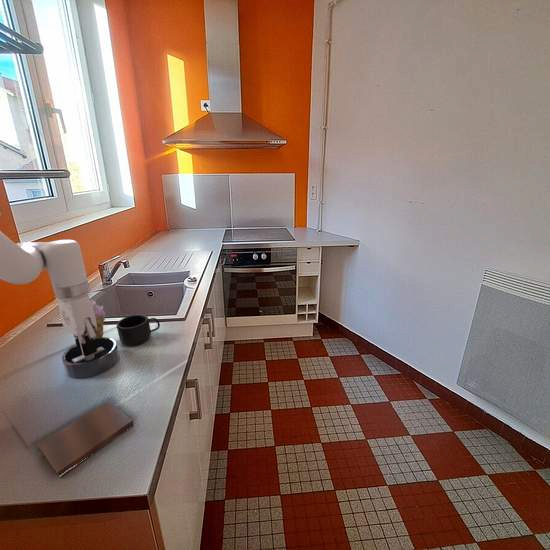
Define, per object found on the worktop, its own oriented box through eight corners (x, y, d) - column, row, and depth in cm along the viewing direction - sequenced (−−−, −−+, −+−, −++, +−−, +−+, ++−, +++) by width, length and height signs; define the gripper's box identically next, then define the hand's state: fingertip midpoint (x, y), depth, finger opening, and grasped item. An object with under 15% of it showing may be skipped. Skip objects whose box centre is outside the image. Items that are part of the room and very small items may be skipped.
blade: (76, 366, 79) (69, 341, 77) (72, 362, 81) (65, 338, 78) (105, 352, 85) (100, 329, 82) (101, 349, 86) (95, 326, 84)
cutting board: (59, 478, 53) (57, 472, 53) (39, 449, 59) (36, 444, 58) (134, 425, 64) (132, 420, 63) (110, 405, 70) (109, 400, 69)
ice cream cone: (109, 337, 98) (99, 294, 93) (115, 344, 93) (104, 300, 88) (86, 345, 94) (73, 301, 88) (91, 353, 89) (78, 308, 84)
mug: (122, 352, 89) (117, 331, 87) (119, 338, 97) (115, 319, 94) (164, 340, 95) (160, 320, 93) (158, 328, 102) (155, 309, 100)
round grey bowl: (79, 387, 76) (74, 371, 74) (59, 369, 83) (54, 353, 81) (128, 361, 85) (124, 346, 83) (106, 347, 92) (102, 332, 91)
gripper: (42, 287, 78) (60, 348, 84) (69, 302, 68) (86, 369, 75) (74, 278, 83) (88, 336, 89) (103, 291, 74) (116, 355, 80)
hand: (87, 351), depth 82 cm, fingers closed on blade, 2 cm apart
